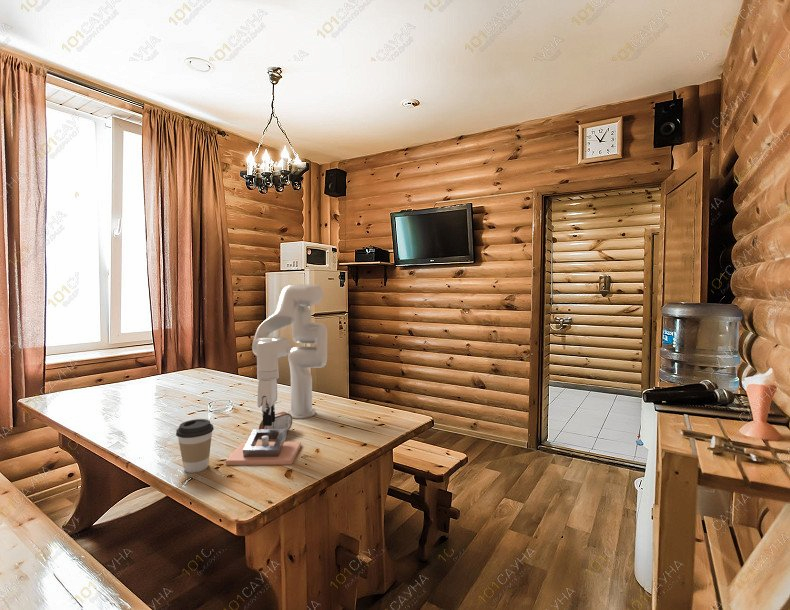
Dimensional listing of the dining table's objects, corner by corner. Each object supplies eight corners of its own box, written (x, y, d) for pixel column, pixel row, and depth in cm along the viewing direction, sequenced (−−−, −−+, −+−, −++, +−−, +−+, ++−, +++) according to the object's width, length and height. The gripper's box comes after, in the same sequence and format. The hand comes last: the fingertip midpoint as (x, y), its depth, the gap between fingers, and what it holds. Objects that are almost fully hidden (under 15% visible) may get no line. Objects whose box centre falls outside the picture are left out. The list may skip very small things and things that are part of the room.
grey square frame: (253, 436, 155) (253, 429, 154) (286, 436, 156) (285, 429, 155) (243, 457, 144) (242, 450, 143) (278, 457, 144) (278, 449, 143)
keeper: (242, 445, 157) (241, 427, 157) (301, 445, 158) (300, 427, 157) (225, 464, 141) (225, 444, 141) (291, 464, 142) (291, 443, 141)
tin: (288, 428, 175) (288, 409, 175) (293, 430, 173) (293, 410, 173) (258, 439, 163) (257, 418, 163) (263, 441, 161) (262, 420, 161)
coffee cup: (194, 458, 146) (193, 416, 145) (222, 462, 143) (221, 419, 142) (168, 473, 135) (167, 427, 134) (197, 478, 132) (196, 431, 131)
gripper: (264, 369, 161) (265, 416, 162) (250, 379, 144) (251, 432, 145) (283, 369, 161) (284, 416, 162) (272, 379, 144) (273, 431, 146)
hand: (269, 423), depth 154 cm, fingers open, 3 cm apart
